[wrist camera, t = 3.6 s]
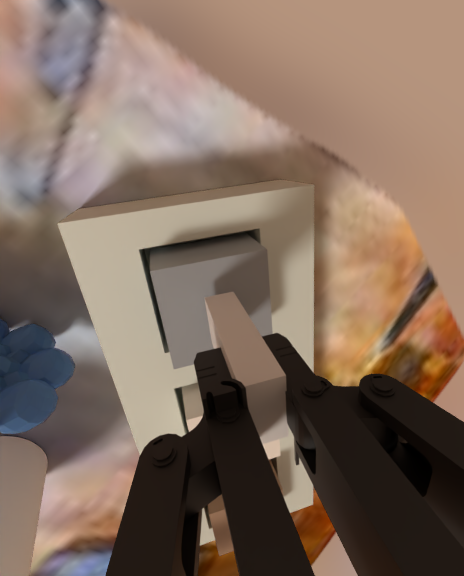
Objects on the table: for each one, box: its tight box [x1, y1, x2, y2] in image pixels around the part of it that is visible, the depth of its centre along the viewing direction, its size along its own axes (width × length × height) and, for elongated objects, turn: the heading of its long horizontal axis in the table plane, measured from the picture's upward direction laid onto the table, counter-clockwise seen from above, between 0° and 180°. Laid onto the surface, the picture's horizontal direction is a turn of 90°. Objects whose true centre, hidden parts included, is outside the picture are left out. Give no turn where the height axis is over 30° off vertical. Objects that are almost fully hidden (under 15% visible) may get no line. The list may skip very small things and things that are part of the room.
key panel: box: [57, 179, 314, 545], centre depth 25 cm, size 31×14×5 cm, turn 7°
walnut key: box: [208, 459, 283, 556], centre depth 26 cm, size 6×6×4 cm
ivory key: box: [182, 383, 281, 459], centre depth 22 cm, size 6×6×4 cm
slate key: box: [150, 233, 273, 369], centre depth 18 cm, size 6×6×4 cm
